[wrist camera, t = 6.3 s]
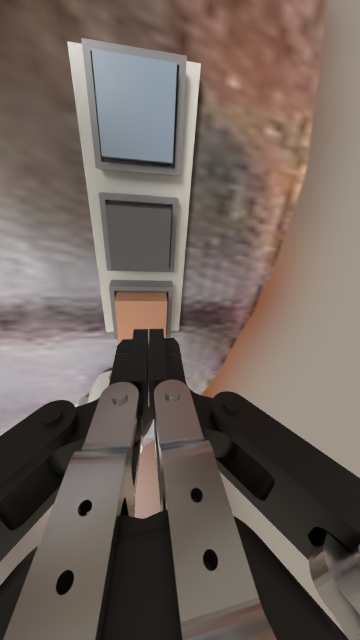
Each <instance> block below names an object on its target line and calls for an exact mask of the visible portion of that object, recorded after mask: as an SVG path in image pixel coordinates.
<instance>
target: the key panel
mask: <svg viewBox="0 0 360 640" xmlns="http://www.w3.org/2000/svg"><path fill="white" fill-rule="evenodd" d="M81 40H82V44H80V43H74V42H68V41H67V44H68V51H69V59H70V66H71V74H72V81H73V89H74V96H75V104H76V111H77V118H78V126H79V133H80V141H81V148H82V156H83V163H84V171H85V178H86V186H87V193H88V200H89V208H90V215H91V223H92V230H93V238H94V245H95V253H96V260H97V268H98V275H99V283H100V290H101V297H102V305H103V312H104V320H105V327H106V332H114V337H115V338H118V330H117V320H116V310H115V298H116V294H117V292H166V296H167V322H166V337H170V335H171V331H179V322H180V310H181V298H182V285H183V273H184V261H185V249H186V237H187V225H188V213H189V200H190V188H191V176H192V164H193V152H194V140H195V128H196V116H197V103H198V91H199V79H200V67H201V64H200V63H194V62H188V61H187V56H184V55H178V54H173V53H167V52H161V51H155V50H149V49H143V48H137V47H131V46H125V45H120V44H114V43H108V42H102V41H96V40H90V39H84V38H81ZM91 48H92V49H98V50H104V51H110V52H116V53H122V54H128V55H134V56H140V57H146V58H152V59H159V60H165V61H171V62H177V75H176V98H175V122H174V145H173V163H172V164H171V165H167V164H157V163H146V162H136V161H125V160H115V159H106V158H105V157H103V156H102V152H101V142H100V132H99V121H98V111H97V101H96V90H95V80H94V69H93V59H92V49H91ZM109 203H114V204H129V205H143V206H158V207H169V208H170V209H171V232H170V255H169V272H167V271H127V270H111V260H110V250H109V240H108V230H107V220H106V210H105V205H107V204H109Z"/></svg>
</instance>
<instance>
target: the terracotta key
mask: <svg viewBox="0 0 360 640" xmlns="http://www.w3.org/2000/svg"><path fill="white" fill-rule="evenodd" d="M115 310H116V320H117V330H118V340H119V343H120V342H121V341H122V340H123V339H132V338H133V331H134V329H148V341H149V329H163V331H164V338H166V322H167V296H166V292H117V294H116V298H115Z"/></svg>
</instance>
